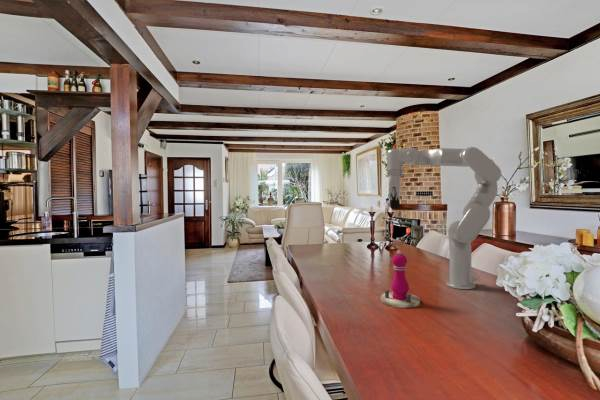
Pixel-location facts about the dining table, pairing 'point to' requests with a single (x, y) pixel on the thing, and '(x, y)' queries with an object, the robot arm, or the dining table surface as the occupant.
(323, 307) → the dining table surface
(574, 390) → the dining table surface
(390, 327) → the dining table surface
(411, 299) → the dowel board
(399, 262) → the pepper mill
